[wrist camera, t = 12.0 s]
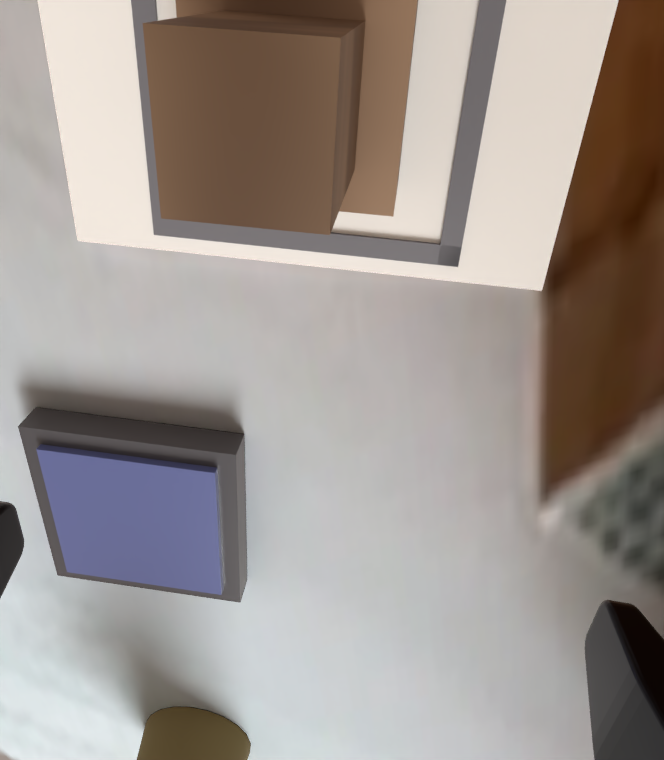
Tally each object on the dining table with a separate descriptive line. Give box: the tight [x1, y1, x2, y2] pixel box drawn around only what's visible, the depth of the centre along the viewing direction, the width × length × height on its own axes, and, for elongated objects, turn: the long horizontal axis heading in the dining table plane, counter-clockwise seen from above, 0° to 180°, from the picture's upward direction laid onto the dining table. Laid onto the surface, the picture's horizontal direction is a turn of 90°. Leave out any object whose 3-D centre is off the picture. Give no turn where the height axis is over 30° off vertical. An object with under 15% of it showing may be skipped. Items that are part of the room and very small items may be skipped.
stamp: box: [143, 0, 418, 235], centre depth 13 cm, size 5×5×7 cm
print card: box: [38, 0, 618, 291], centre depth 16 cm, size 14×10×1 cm
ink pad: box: [18, 408, 247, 602], centre depth 25 cm, size 8×8×2 cm
